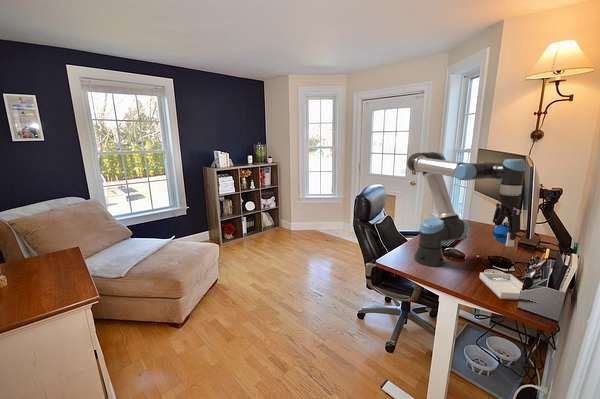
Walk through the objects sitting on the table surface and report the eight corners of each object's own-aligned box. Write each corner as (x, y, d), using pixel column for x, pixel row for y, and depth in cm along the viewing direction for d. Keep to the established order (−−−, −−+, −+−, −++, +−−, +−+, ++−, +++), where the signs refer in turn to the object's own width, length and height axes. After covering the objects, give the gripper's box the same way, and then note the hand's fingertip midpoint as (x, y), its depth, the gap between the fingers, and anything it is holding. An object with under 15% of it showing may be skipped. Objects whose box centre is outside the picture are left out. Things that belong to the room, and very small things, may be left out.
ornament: (487, 241, 124) (489, 220, 122) (500, 238, 126) (502, 218, 124) (506, 247, 116) (509, 225, 114) (519, 244, 119) (523, 223, 116)
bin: (500, 298, 112) (501, 292, 112) (479, 277, 129) (480, 272, 129) (535, 301, 110) (537, 294, 110) (509, 279, 127) (510, 274, 127)
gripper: (537, 199, 106) (528, 251, 110) (504, 190, 126) (498, 234, 131) (516, 198, 107) (508, 251, 111) (487, 190, 127) (482, 234, 132)
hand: (503, 242), depth 121 cm, fingers closed on ornament, 9 cm apart
